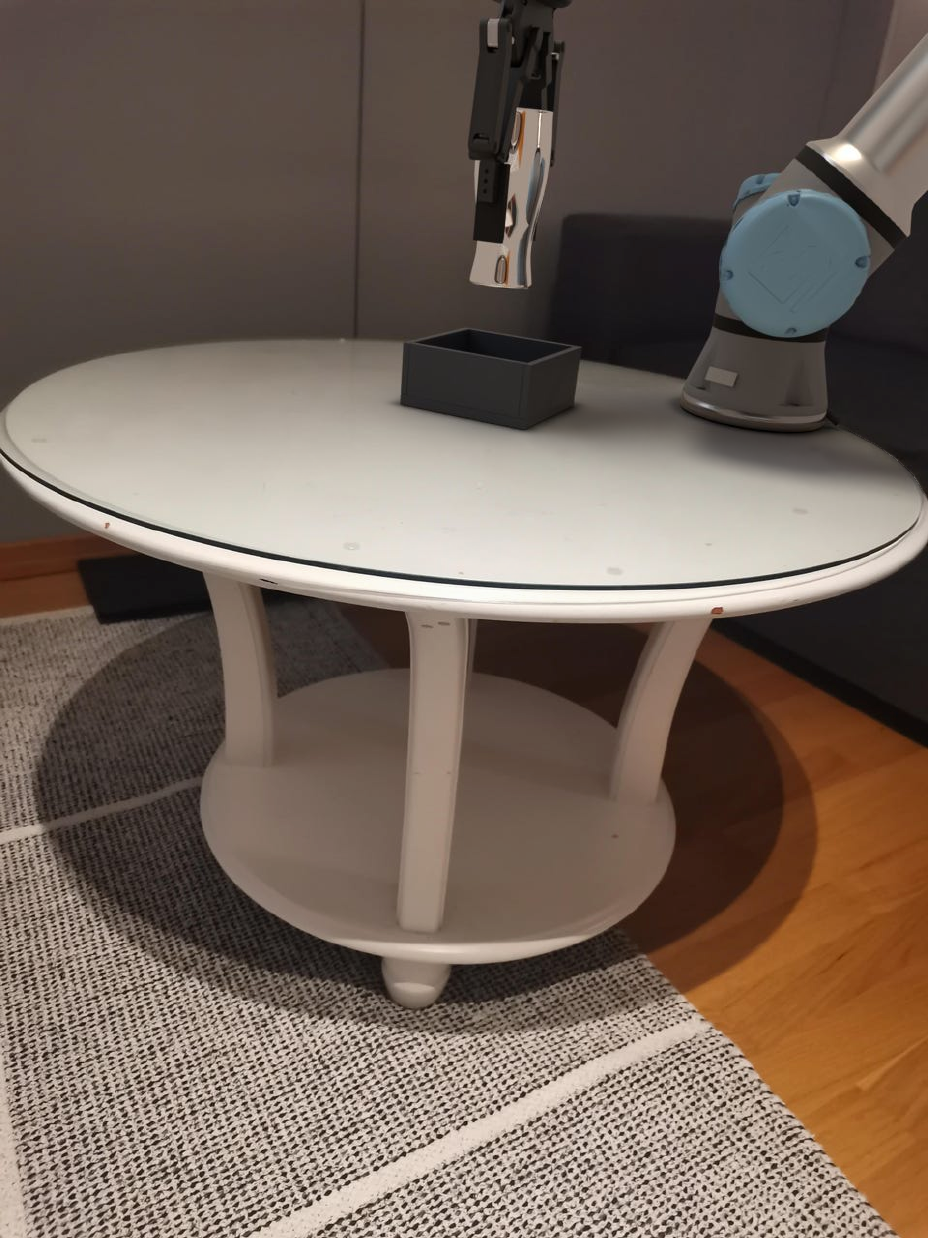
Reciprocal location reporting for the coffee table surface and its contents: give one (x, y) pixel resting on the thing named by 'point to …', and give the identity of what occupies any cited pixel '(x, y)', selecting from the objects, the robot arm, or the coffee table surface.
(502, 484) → the coffee table surface
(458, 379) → the bin
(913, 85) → the robot arm
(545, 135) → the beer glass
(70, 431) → the coffee table surface
